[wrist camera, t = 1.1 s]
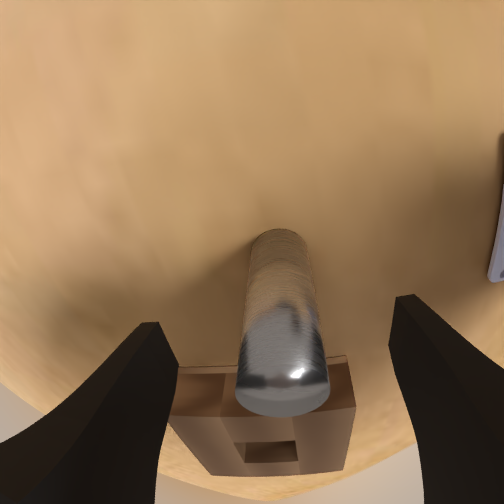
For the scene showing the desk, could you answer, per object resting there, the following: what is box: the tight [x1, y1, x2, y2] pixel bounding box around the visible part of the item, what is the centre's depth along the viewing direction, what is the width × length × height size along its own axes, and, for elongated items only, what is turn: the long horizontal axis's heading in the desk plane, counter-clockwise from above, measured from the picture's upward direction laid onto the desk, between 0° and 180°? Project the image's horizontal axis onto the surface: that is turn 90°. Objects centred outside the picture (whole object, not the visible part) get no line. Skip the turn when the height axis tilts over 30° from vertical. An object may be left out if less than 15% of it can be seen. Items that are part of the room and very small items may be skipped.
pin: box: [235, 229, 330, 417], centre depth 10 cm, size 2×2×7 cm
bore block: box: [168, 356, 356, 477], centre depth 18 cm, size 10×10×4 cm
